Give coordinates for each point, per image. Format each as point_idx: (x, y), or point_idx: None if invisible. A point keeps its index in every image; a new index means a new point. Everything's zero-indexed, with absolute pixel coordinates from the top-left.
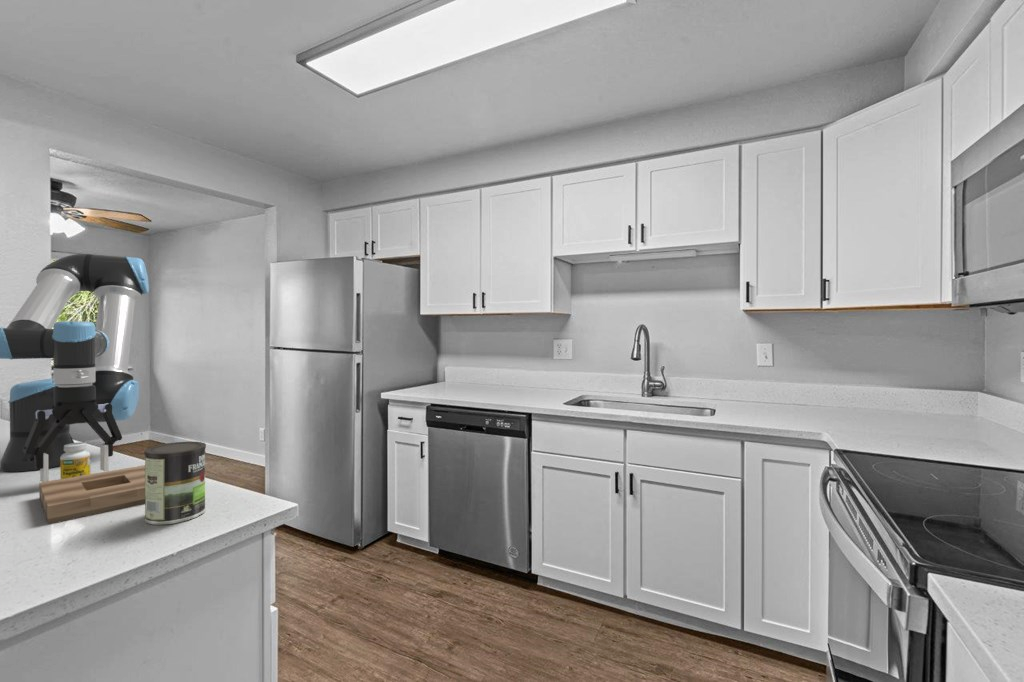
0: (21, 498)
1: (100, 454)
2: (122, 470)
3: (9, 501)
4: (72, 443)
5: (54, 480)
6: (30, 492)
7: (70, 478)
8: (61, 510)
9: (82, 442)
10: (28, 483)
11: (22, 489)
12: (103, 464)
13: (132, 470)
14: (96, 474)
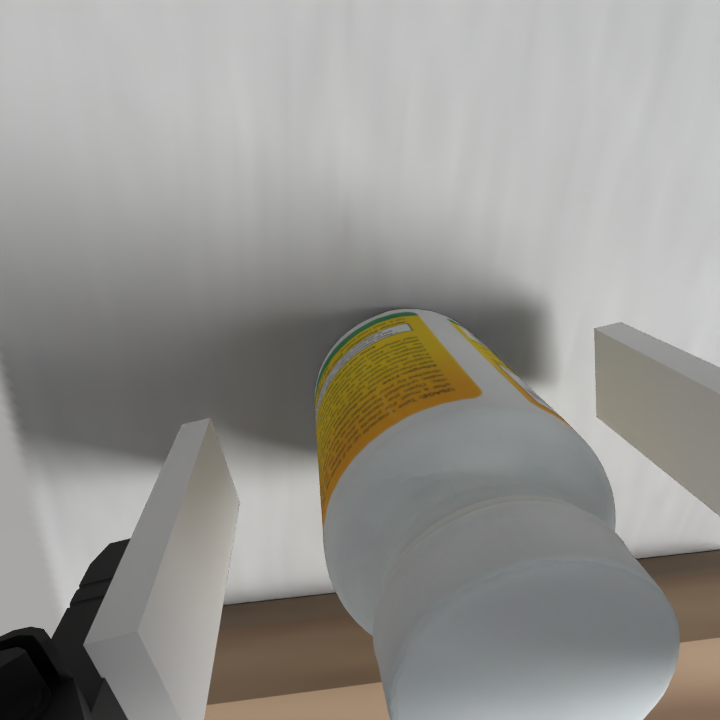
0: None
1: (702, 389)
2: None
3: (57, 575)
4: (524, 601)
5: (275, 705)
6: (143, 442)
7: (364, 704)
8: None
9: (658, 607)
10: (82, 115)
11: (74, 315)
12: (631, 418)
13: (685, 707)
14: None
